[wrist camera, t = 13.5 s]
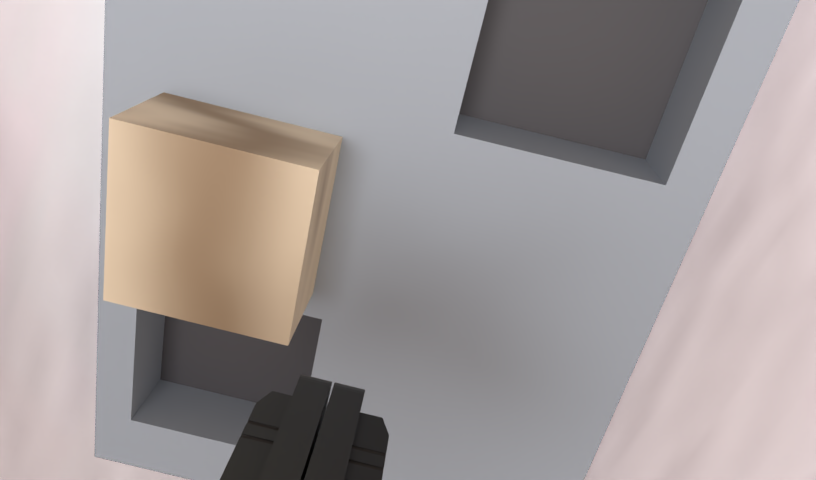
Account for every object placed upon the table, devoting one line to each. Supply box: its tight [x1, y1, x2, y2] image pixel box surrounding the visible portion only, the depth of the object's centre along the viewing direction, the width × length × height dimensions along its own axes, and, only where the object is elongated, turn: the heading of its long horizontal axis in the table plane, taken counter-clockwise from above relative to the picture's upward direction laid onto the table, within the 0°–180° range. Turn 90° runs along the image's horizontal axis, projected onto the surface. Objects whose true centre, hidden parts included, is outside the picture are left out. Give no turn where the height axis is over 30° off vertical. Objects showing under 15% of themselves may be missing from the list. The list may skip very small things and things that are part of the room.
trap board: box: [95, 0, 799, 480], centre depth 23 cm, size 20×32×4 cm, turn 168°
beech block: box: [103, 92, 343, 346], centre depth 21 cm, size 6×6×4 cm
